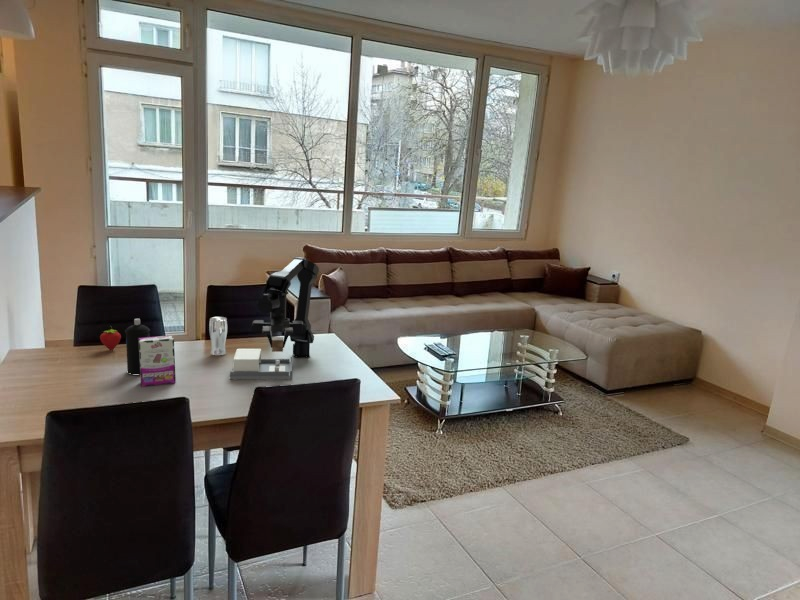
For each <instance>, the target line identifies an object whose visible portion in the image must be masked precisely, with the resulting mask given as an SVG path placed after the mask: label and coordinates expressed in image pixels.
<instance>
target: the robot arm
mask: <svg viewBox="0 0 800 600" xmlns="http://www.w3.org/2000/svg"><path fill="white" fill-rule="evenodd" d="M319 270H320V268H319V266H318V265H317V264H316V263H314V262H312V261H311V260H309V259H308V258H305V257H300V256H295V257H293V258H292V261H291V262H289V263H288V264H287V266H285V267H284V268H283V269H282V270H280V271H275V272H273V273H271V274H270V275H269V276H268V278H267V281H266V283H265V286H264V289H263V291H262V292H263V293H262V298H260V299H259V300H258V302H257V308H258V310H259V311H260V313H262V314H265V315H266V314H269V313H270V315H269V316H270V317H269V322H265V321H264V320H263V319H255V320H254V319H253V321H252V324H251V331H253V332H261V333H262V334H265V336H266V337H267V339H268V342H269V345H270V348H271V349H272V338H273V333H275V332H276V333H277V332H280V333H284V335H283V349H284V348H285V346H286V343H287V341H288V338H290V342H294V343H292V355H293V358H310V357H311V356H310V355H311V354H310V349H311V348H310V347H311V346H310V344H313V343H314V340H315V336H314V333H313V332H312V325H311V323H310V320H309V314H310V313H309V312H310V302H311V294H312V288H313V284H314V283H315V282H316V280H317V278H318V275H319ZM295 277H297V279H298V281H299V291H298V299H297V300H298V301H297V307H296V308H297V309H296V316H295V319H294V320H292V321H291V319H290V318H288V317H287V295H289V291H288V290H289V288H290V287H291V284H292V283H291V282H292V279H294V278H295ZM290 321H291V322H290Z"/></svg>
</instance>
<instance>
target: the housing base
mask: <svg viewBox="0 0 800 600" xmlns="http://www.w3.org/2000/svg"><path fill="white" fill-rule="evenodd" d="M292 368H293V356H291V357H290V358H261V363H259V371H233V368H232V370H231V371H229V380H230V379H242V380H244V379H256V380H292V378H293V377H292V376H293V375H292V374H293V373H292V371H293V369H292Z"/></svg>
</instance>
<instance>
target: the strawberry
mask: <svg viewBox="0 0 800 600" xmlns="http://www.w3.org/2000/svg"><path fill="white" fill-rule="evenodd" d="M110 327H111V329H109V330H104V331H103V333H101V334H100V336H99V339H100V342H101V343H102V344H103V346H104V347H106V348H107V349H108V350H109V349H110V350H109V351H113V350H114V349H115V348H116V347H117V346H118V345H119V343H120V342H121V339H122V336H121V333H119V331H118V330H116V329H113V328H112V326H110ZM112 349H113V350H112Z"/></svg>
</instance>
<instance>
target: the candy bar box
mask: <svg viewBox="0 0 800 600" xmlns="http://www.w3.org/2000/svg"><path fill="white" fill-rule="evenodd" d="M139 357H140V375H139V376H140V386H141V387H142V386H144V387H151V385H153V386H160V385H169V384H175V383H176V382H177V381H176V362H175V359H176V358H175V339H174V335H172V334H171V335H160V336H159V335H158V336H150V337H146V338H139Z"/></svg>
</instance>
